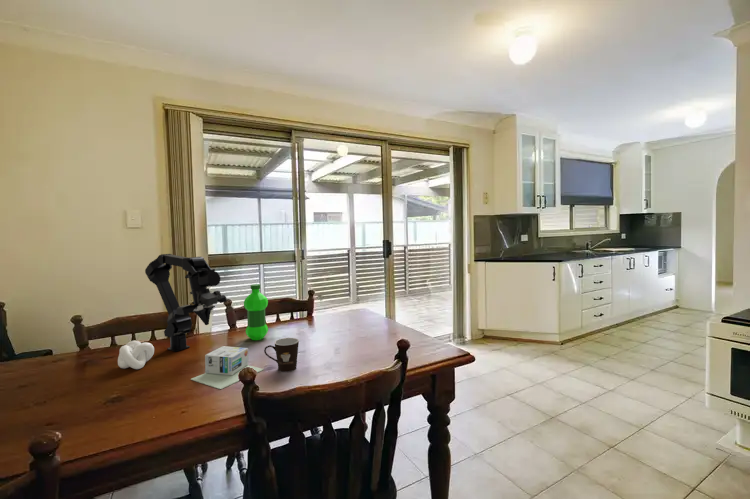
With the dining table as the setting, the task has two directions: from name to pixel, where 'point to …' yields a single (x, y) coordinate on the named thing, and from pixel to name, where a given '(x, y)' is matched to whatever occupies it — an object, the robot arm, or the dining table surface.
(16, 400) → the dining table surface
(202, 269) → the robot arm
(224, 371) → the light bulb box
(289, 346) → the coffee mug
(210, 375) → the mat
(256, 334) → the plastic bottle
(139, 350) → the white decorative knot
